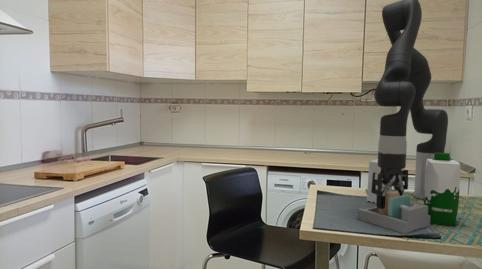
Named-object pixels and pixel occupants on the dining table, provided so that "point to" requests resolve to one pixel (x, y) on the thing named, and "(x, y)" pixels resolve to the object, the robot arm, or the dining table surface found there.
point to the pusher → (398, 205)
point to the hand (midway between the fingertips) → (389, 206)
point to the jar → (389, 194)
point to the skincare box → (372, 168)
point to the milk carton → (442, 189)
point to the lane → (408, 223)
